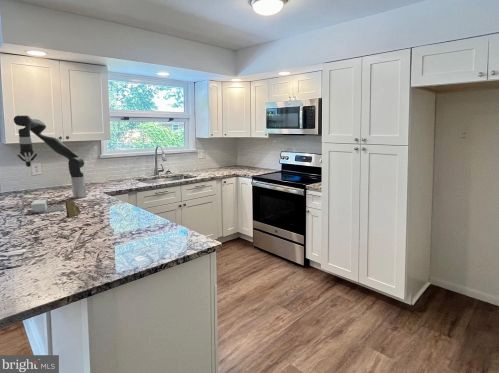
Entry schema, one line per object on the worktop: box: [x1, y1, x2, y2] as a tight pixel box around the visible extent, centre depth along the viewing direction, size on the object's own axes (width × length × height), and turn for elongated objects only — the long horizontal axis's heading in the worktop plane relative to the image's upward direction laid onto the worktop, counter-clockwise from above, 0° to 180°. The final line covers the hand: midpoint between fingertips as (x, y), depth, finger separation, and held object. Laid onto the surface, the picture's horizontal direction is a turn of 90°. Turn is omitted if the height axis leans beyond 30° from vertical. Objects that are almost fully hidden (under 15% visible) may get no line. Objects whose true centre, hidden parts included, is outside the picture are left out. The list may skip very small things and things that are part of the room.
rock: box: [65, 200, 81, 218], centre depth 220 cm, size 11×9×10 cm
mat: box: [36, 205, 66, 215], centre depth 235 cm, size 16×15×1 cm
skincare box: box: [30, 199, 48, 213], centre depth 233 cm, size 8×6×15 cm
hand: (28, 166), depth 248 cm, fingers closed
